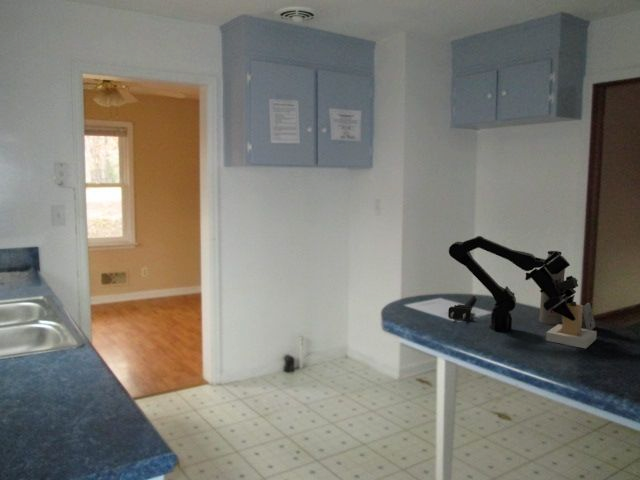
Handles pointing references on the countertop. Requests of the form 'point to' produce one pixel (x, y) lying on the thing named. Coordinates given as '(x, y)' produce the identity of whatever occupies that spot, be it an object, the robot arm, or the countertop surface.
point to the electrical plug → (461, 310)
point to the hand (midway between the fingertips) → (576, 318)
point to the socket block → (571, 337)
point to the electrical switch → (587, 318)
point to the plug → (573, 326)
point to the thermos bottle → (549, 315)
